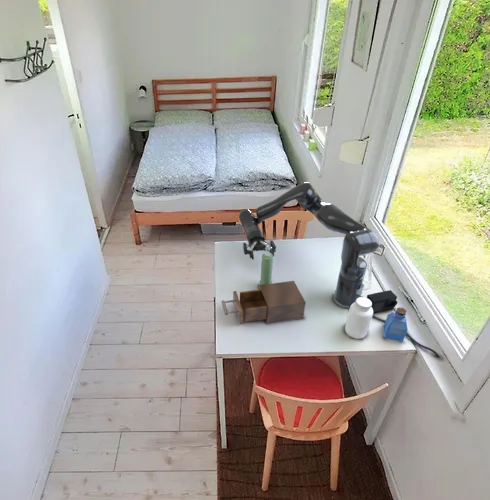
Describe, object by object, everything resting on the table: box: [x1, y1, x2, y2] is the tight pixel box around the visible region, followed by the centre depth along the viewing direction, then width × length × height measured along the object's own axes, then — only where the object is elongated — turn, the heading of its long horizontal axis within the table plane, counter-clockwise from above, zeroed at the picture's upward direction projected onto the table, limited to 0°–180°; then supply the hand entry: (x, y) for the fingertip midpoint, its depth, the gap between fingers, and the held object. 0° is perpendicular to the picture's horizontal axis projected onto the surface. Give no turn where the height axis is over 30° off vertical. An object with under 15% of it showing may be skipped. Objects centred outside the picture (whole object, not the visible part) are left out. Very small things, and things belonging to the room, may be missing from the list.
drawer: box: [221, 288, 268, 325], centre depth 150 cm, size 19×12×7 cm, turn 99°
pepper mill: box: [258, 252, 274, 285], centre depth 160 cm, size 5×5×18 cm
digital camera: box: [366, 289, 398, 315], centre depth 150 cm, size 10×5×7 cm, turn 104°
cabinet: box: [258, 280, 306, 324], centre depth 152 cm, size 15×13×9 cm
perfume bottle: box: [383, 307, 408, 343], centre depth 138 cm, size 6×6×12 cm
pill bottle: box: [344, 296, 374, 339], centre depth 139 cm, size 8×8×15 cm
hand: (262, 257), depth 165 cm, fingers open, 8 cm apart
